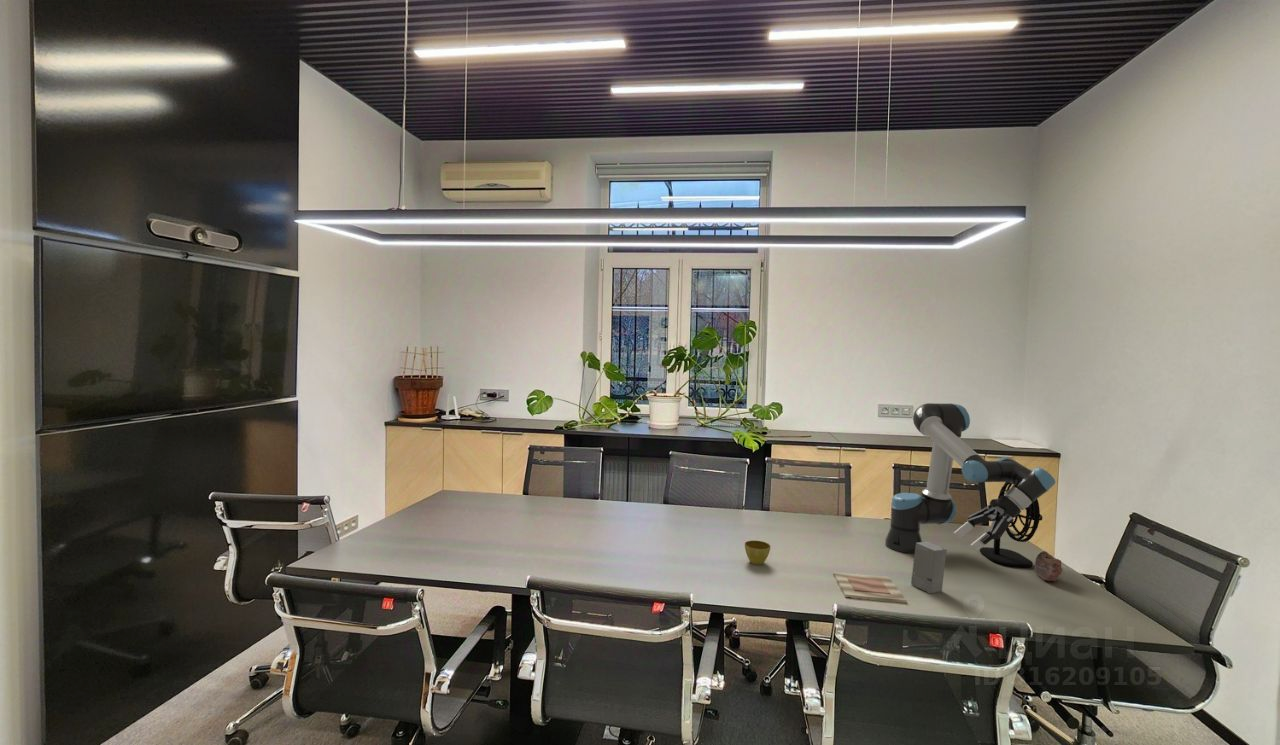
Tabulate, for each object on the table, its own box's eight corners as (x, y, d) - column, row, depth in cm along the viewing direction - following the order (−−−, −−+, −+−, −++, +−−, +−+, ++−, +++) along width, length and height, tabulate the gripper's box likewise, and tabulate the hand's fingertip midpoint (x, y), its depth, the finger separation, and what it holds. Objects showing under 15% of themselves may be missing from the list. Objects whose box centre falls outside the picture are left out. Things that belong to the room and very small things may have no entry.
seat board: (833, 574, 210) (833, 571, 210) (888, 579, 207) (888, 576, 207) (845, 597, 190) (845, 593, 190) (906, 603, 187) (906, 599, 187)
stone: (1031, 572, 220) (1033, 547, 220) (1056, 574, 218) (1057, 549, 218) (1046, 584, 208) (1048, 558, 208) (1072, 587, 206) (1074, 561, 206)
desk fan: (1050, 573, 219) (1055, 486, 218) (1002, 570, 221) (1007, 483, 220) (1012, 550, 246) (1017, 471, 245) (970, 547, 248) (974, 469, 247)
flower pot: (770, 568, 214) (771, 550, 214) (743, 565, 216) (744, 547, 216) (769, 559, 224) (770, 541, 224) (744, 556, 226) (744, 539, 226)
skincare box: (910, 585, 203) (912, 542, 202) (924, 582, 206) (926, 540, 205) (931, 594, 195) (933, 550, 195) (944, 591, 198) (947, 547, 198)
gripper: (1040, 521, 183) (989, 562, 185) (1001, 501, 208) (957, 538, 210) (1024, 504, 184) (973, 545, 186) (987, 486, 208) (943, 523, 211)
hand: (964, 541), depth 198 cm, fingers open, 13 cm apart
